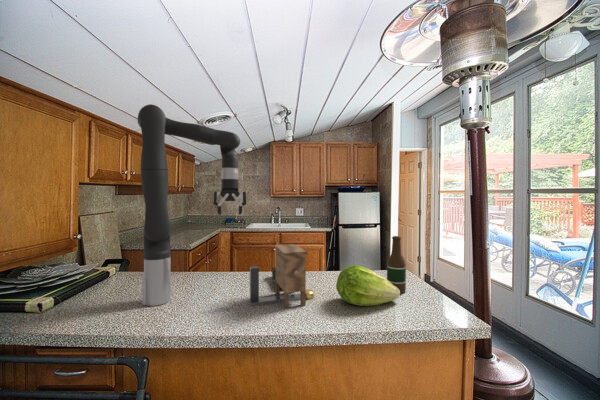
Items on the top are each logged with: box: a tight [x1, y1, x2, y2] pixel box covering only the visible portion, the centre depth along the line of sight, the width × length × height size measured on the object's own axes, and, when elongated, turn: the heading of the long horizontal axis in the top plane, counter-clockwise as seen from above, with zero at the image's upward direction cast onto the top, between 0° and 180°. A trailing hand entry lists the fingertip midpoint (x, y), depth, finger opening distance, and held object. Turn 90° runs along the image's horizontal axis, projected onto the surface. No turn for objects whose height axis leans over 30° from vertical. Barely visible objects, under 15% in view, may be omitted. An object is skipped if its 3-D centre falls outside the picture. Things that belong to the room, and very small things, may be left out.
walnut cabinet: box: [273, 243, 308, 309], centre depth 109 cm, size 9×18×20 cm, turn 18°
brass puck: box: [306, 289, 315, 301], centre depth 112 cm, size 5×5×2 cm
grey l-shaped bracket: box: [249, 265, 301, 307], centre depth 108 cm, size 21×4×14 cm, turn 108°
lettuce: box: [335, 264, 401, 307], centre depth 106 cm, size 15×24×16 cm
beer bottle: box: [386, 235, 407, 295], centre depth 119 cm, size 8×8×24 cm
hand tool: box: [271, 266, 284, 292], centre depth 131 cm, size 23×5×6 cm, turn 13°
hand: (230, 214), depth 123 cm, fingers open, 8 cm apart
